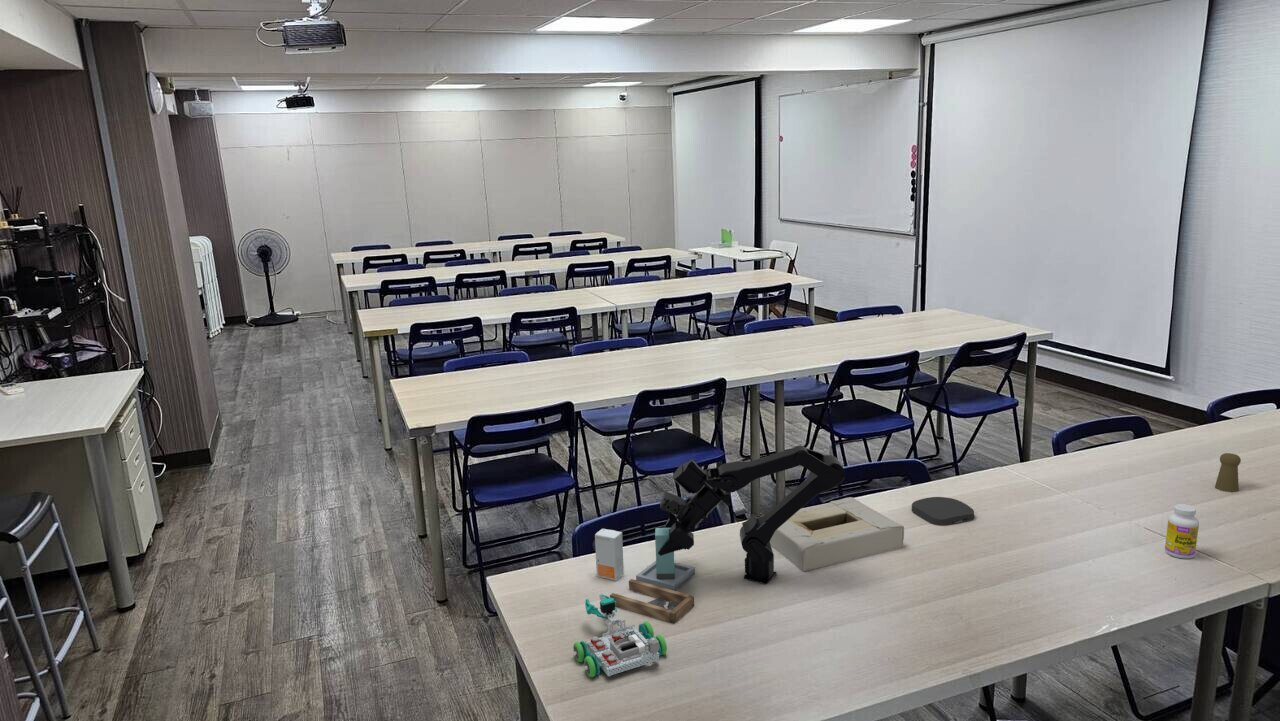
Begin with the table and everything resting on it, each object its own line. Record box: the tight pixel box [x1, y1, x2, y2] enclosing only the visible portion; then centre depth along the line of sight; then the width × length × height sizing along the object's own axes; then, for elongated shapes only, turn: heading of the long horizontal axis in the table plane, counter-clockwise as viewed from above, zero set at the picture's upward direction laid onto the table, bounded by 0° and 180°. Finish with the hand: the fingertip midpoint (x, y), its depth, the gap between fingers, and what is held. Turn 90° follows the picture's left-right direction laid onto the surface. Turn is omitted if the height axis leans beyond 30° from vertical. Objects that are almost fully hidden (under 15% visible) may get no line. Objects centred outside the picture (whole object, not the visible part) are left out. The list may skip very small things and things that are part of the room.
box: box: [759, 496, 905, 572], centre depth 230 cm, size 23×8×32 cm
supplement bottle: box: [1164, 503, 1200, 560], centre depth 215 cm, size 7×7×13 cm
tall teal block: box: [654, 527, 675, 580], centre depth 213 cm, size 5×5×12 cm
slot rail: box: [609, 578, 695, 625], centre depth 202 cm, size 18×9×2 cm, turn 57°
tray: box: [635, 560, 696, 592], centre depth 214 cm, size 11×11×2 cm
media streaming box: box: [911, 496, 975, 526], centre depth 247 cm, size 15×15×3 cm
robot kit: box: [573, 594, 668, 678], centre depth 184 cm, size 19×25×9 cm
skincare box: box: [594, 528, 625, 582], centre depth 216 cm, size 6×4×12 cm
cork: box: [1214, 452, 1241, 493], centre depth 256 cm, size 6×6×11 cm
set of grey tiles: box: [647, 597, 680, 610], centre depth 199 cm, size 9×7×1 cm
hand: (659, 546), depth 213 cm, fingers open, 9 cm apart
